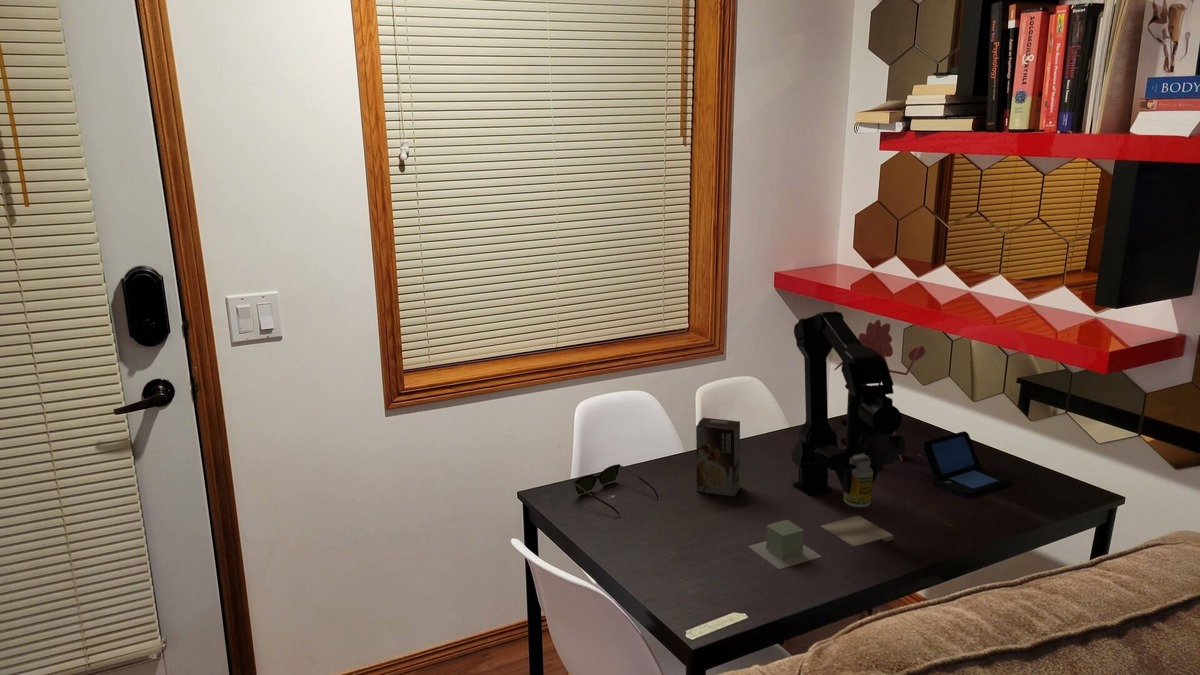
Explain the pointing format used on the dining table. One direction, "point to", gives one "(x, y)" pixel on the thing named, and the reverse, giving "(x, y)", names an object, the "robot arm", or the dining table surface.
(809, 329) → the robot arm
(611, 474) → the sunglasses
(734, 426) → the coffee box
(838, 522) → the birch pad
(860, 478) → the supplement bottle
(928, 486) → the dining table surface
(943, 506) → the dining table surface
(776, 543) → the sage block
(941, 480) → the handheld game console
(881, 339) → the figurine
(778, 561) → the grey pad
